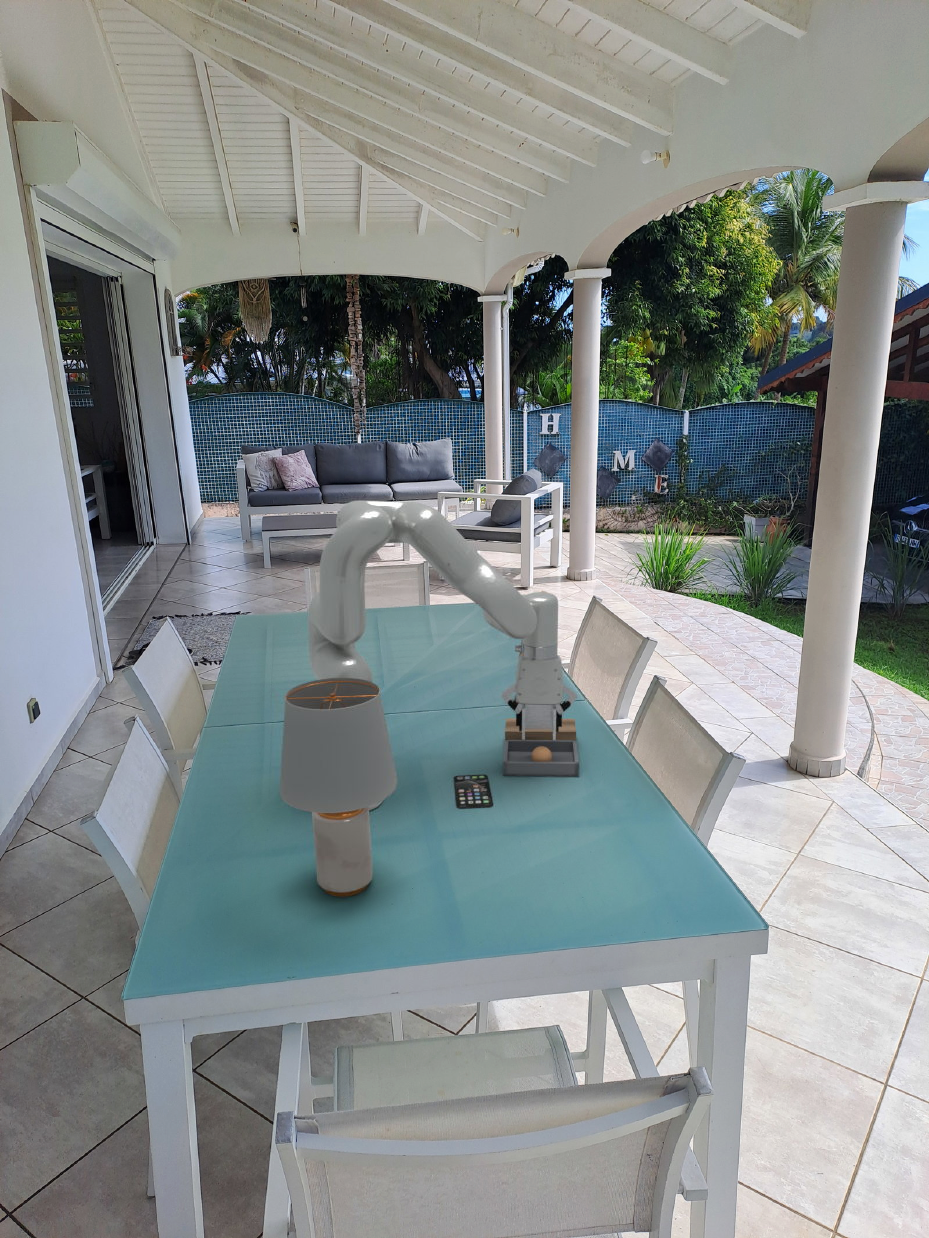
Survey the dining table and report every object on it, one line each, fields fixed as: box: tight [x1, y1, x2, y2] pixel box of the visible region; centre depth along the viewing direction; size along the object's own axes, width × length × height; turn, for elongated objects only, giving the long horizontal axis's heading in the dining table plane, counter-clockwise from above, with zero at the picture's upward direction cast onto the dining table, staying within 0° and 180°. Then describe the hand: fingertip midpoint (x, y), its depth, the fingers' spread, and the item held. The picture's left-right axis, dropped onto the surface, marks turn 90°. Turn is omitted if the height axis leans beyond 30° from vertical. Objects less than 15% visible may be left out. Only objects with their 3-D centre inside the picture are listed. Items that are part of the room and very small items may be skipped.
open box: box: [522, 705, 556, 740], centre depth 188 cm, size 7×7×7 cm
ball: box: [532, 746, 552, 762], centre depth 187 cm, size 4×4×4 cm
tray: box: [502, 739, 580, 778], centre depth 190 cm, size 13×16×3 cm
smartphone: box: [453, 773, 494, 810], centre depth 178 cm, size 7×1×15 cm
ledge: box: [504, 717, 577, 741], centre depth 199 cm, size 8×16×5 cm, turn 85°
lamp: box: [279, 678, 398, 898], centre depth 141 cm, size 19×19×34 cm
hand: (538, 728), depth 188 cm, fingers closed on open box, 7 cm apart
